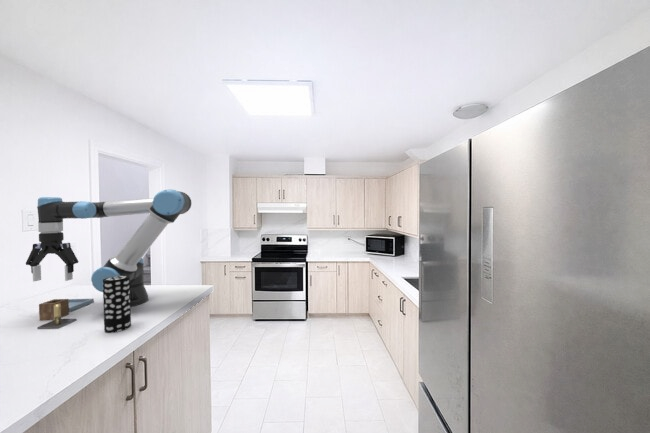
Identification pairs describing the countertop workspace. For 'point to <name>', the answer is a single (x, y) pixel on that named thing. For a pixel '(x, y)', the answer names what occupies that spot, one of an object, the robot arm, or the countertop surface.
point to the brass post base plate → (57, 320)
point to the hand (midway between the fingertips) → (53, 280)
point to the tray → (78, 303)
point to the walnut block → (48, 309)
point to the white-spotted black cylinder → (116, 303)
